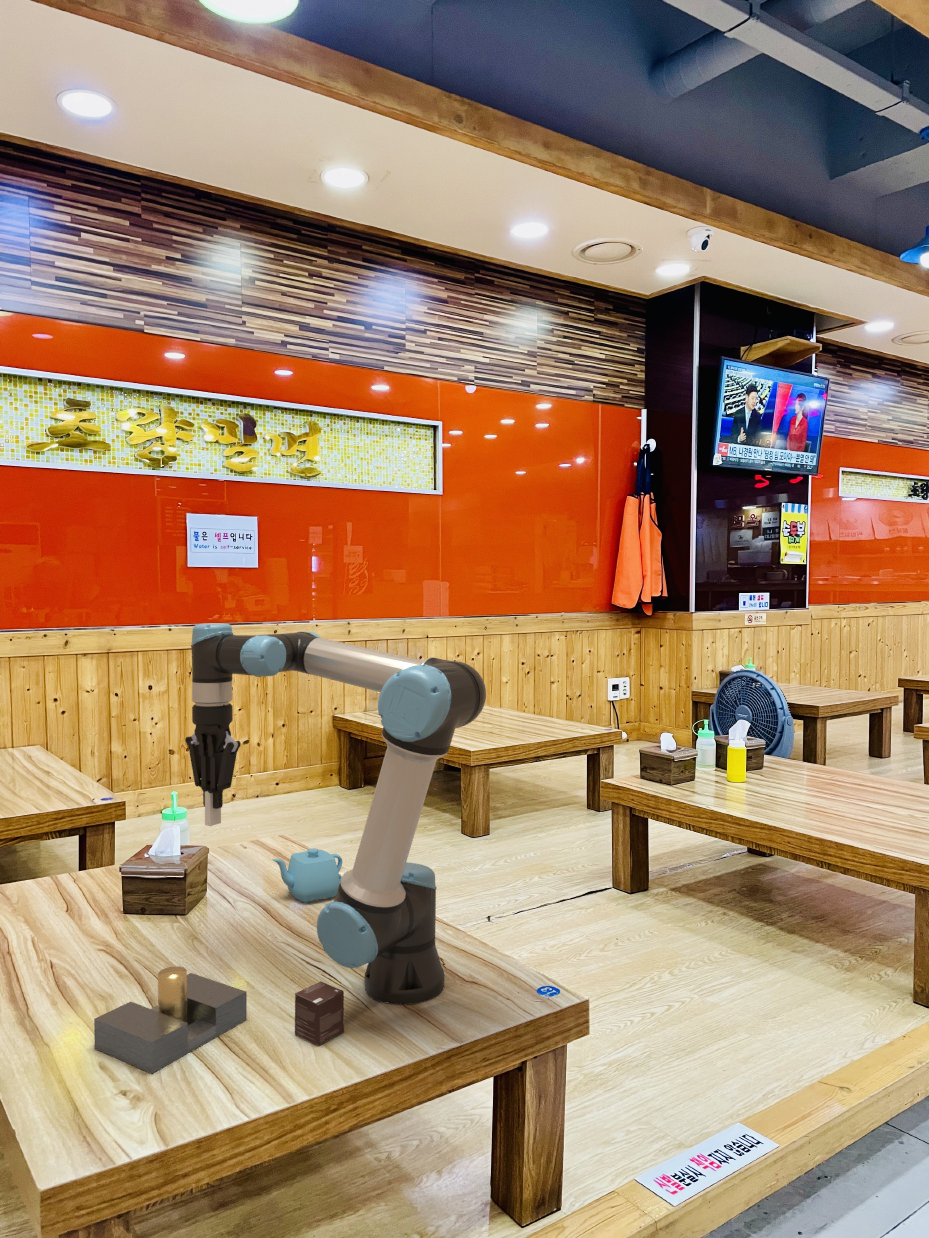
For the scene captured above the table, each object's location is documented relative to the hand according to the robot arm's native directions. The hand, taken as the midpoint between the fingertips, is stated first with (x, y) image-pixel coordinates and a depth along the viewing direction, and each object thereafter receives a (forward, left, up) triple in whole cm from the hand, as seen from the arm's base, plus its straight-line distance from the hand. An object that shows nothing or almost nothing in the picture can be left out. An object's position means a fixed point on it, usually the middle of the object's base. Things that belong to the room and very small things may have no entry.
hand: (213, 823), depth 169 cm
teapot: (+13, -42, -30) cm, 53 cm away
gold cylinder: (-12, +20, -29) cm, 37 cm away
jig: (-12, +20, -29) cm, 38 cm away
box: (-33, +7, -30) cm, 45 cm away
